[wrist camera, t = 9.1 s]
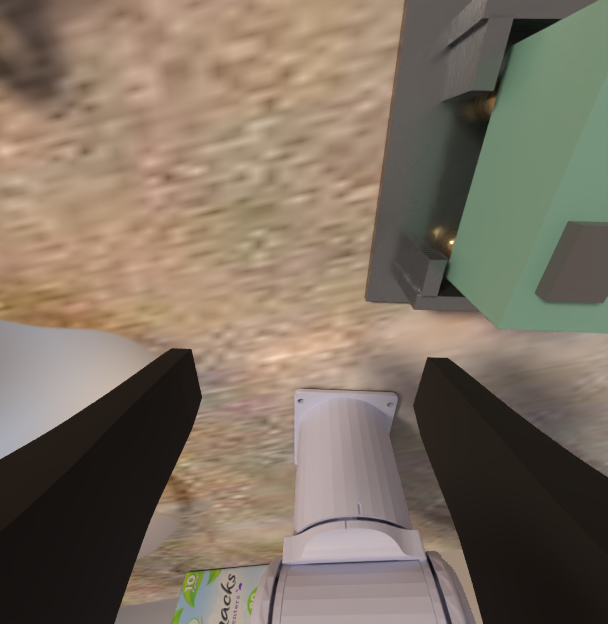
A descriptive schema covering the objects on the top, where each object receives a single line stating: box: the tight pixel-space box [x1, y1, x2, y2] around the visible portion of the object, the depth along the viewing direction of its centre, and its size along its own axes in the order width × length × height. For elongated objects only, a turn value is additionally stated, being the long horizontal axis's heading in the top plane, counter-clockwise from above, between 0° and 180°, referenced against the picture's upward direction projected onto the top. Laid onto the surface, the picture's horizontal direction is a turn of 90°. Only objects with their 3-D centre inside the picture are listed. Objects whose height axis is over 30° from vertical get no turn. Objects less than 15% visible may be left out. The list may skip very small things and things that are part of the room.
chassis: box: [365, 0, 598, 312], centre depth 13 cm, size 14×11×4 cm
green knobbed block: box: [445, 0, 608, 333], centre depth 10 cm, size 9×4×6 cm, turn 179°
